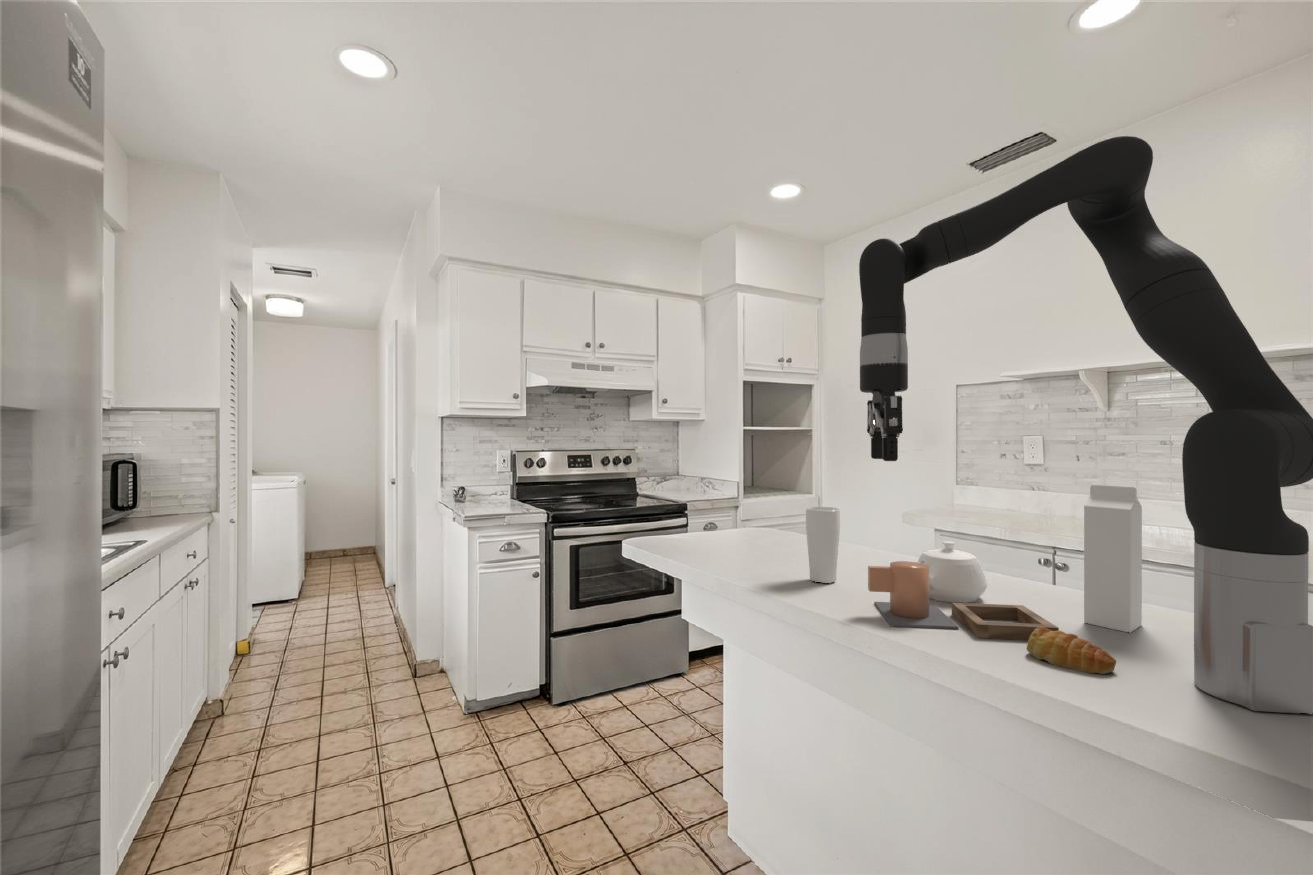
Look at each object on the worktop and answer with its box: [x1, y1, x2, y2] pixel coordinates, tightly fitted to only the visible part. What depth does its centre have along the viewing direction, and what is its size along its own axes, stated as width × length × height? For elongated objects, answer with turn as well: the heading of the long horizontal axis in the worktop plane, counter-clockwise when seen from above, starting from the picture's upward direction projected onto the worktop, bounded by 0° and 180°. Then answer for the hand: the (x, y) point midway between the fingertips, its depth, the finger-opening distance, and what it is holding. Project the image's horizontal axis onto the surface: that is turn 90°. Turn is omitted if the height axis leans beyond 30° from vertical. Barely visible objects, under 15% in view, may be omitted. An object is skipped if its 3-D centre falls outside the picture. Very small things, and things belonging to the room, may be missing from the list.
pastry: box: [1026, 627, 1117, 675], centre depth 77 cm, size 9×7×4 cm
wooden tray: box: [951, 602, 1060, 641], centre depth 90 cm, size 11×11×2 cm
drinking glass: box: [805, 506, 841, 584], centre depth 119 cm, size 7×7×15 cm
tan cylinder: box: [867, 560, 930, 618], centre depth 96 cm, size 10×6×8 cm, turn 82°
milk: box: [1083, 484, 1143, 634], centre depth 91 cm, size 6×6×22 cm
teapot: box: [917, 540, 988, 603], centre depth 107 cm, size 20×12×10 cm, turn 126°
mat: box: [874, 601, 960, 630], centre depth 96 cm, size 12×10×1 cm
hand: (883, 459), depth 97 cm, fingers open, 8 cm apart
